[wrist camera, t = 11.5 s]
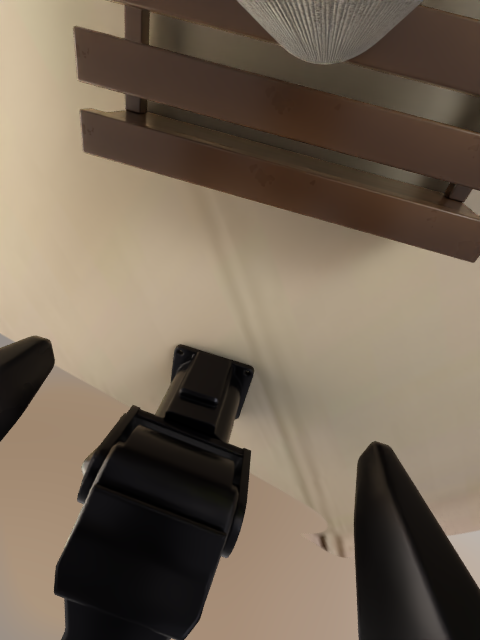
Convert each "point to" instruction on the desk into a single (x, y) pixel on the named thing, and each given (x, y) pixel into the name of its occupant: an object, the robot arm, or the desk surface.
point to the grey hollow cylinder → (328, 25)
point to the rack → (295, 124)
